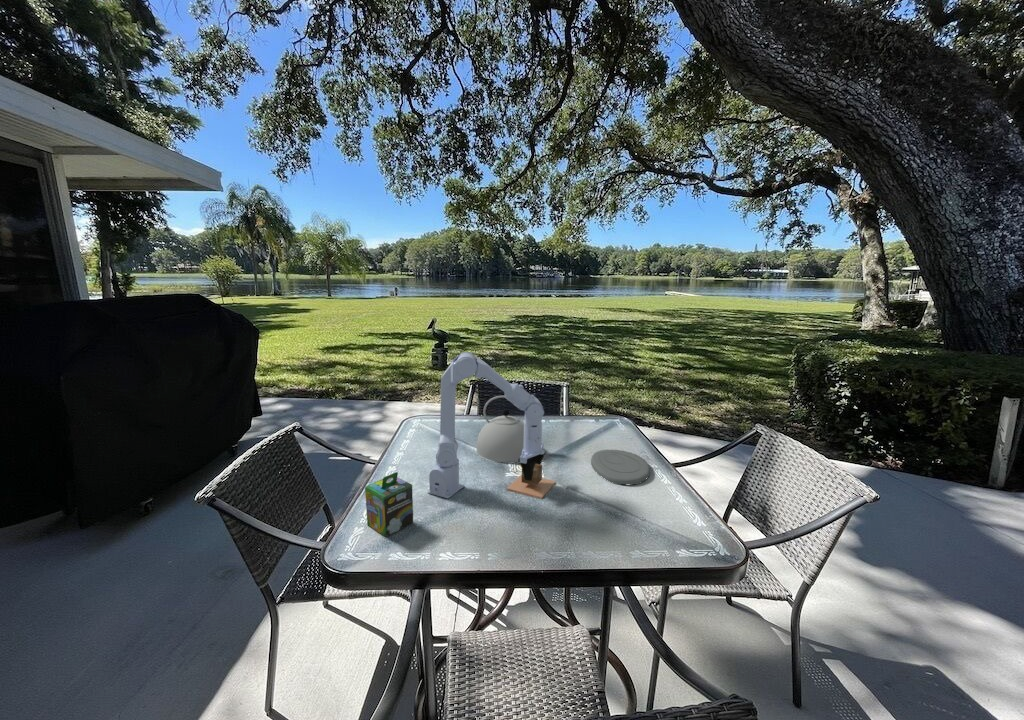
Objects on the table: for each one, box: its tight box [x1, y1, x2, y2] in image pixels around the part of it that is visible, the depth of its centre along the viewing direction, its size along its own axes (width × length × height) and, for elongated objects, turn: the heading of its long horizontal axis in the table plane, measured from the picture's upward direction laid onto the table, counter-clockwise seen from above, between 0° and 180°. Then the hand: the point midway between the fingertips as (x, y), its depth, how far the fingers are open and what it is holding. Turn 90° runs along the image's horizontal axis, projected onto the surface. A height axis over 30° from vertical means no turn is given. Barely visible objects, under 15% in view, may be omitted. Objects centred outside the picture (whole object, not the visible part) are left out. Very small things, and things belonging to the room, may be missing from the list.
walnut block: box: [521, 464, 543, 486], centre depth 136 cm, size 5×5×5 cm
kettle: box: [476, 395, 524, 464], centre depth 165 cm, size 25×23×23 cm
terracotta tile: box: [506, 474, 556, 500], centre depth 137 cm, size 12×12×1 cm
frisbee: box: [590, 449, 651, 485], centre depth 152 cm, size 20×27×3 cm
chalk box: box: [364, 471, 414, 538], centre depth 113 cm, size 9×9×15 cm
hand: (531, 476), depth 137 cm, fingers closed on walnut block, 5 cm apart
